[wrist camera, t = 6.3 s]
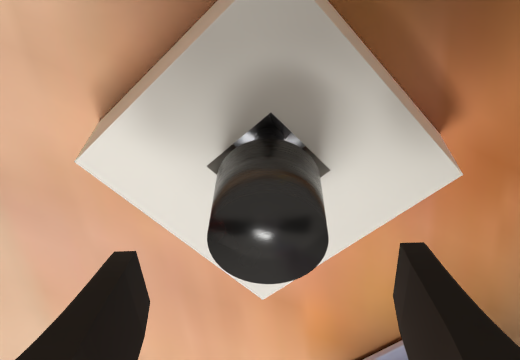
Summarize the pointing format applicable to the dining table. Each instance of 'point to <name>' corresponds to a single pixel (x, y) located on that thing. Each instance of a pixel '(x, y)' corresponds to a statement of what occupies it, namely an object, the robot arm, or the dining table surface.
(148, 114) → the block
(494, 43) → the dining table surface
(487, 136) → the dining table surface
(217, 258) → the plunger
